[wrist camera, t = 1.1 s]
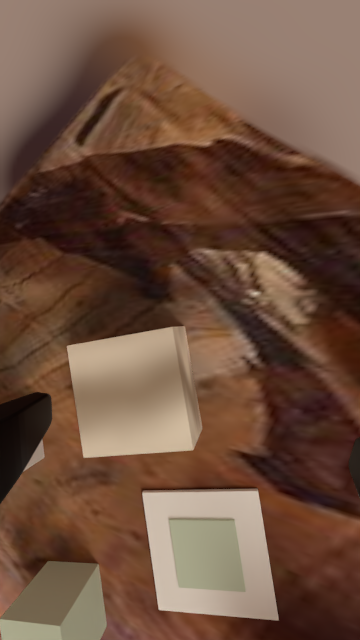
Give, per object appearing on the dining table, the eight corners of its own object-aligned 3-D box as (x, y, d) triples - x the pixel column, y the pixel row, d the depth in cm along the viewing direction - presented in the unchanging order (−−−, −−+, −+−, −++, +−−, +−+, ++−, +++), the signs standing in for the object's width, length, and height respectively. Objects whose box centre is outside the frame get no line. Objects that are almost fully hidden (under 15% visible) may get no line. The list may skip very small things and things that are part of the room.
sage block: (107, 624, 23) (69, 705, 18) (55, 619, 24) (7, 693, 19) (99, 562, 23) (60, 626, 18) (48, 560, 24) (-1, 619, 20)
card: (278, 616, 20) (279, 623, 19) (159, 606, 22) (157, 612, 21) (257, 488, 20) (258, 492, 20) (143, 490, 22) (141, 494, 22)
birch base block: (203, 427, 22) (193, 450, 18) (110, 435, 23) (83, 457, 19) (185, 326, 22) (172, 326, 18) (96, 342, 24) (66, 345, 20)
